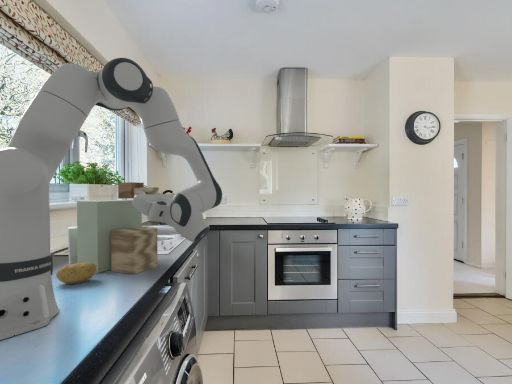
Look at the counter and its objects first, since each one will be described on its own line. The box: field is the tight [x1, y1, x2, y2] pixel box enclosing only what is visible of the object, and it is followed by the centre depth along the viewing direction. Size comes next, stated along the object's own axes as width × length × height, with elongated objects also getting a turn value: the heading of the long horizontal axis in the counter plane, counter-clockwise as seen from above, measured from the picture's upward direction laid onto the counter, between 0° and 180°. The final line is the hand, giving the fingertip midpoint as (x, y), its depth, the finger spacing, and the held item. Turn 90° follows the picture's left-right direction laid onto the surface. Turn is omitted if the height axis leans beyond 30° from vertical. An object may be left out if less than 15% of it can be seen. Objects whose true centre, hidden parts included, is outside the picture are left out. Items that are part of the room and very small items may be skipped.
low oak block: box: [110, 226, 159, 275], centre depth 109 cm, size 12×11×15 cm
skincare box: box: [67, 225, 77, 265], centre depth 115 cm, size 8×7×16 cm
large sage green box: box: [76, 199, 143, 274], centre depth 114 cm, size 20×12×26 cm, turn 154°
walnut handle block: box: [117, 181, 160, 200], centre depth 107 cm, size 6×16×6 cm, turn 64°
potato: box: [56, 262, 97, 285], centre depth 92 cm, size 7×11×6 cm, turn 114°
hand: (146, 191), depth 106 cm, fingers closed on walnut handle block, 3 cm apart
